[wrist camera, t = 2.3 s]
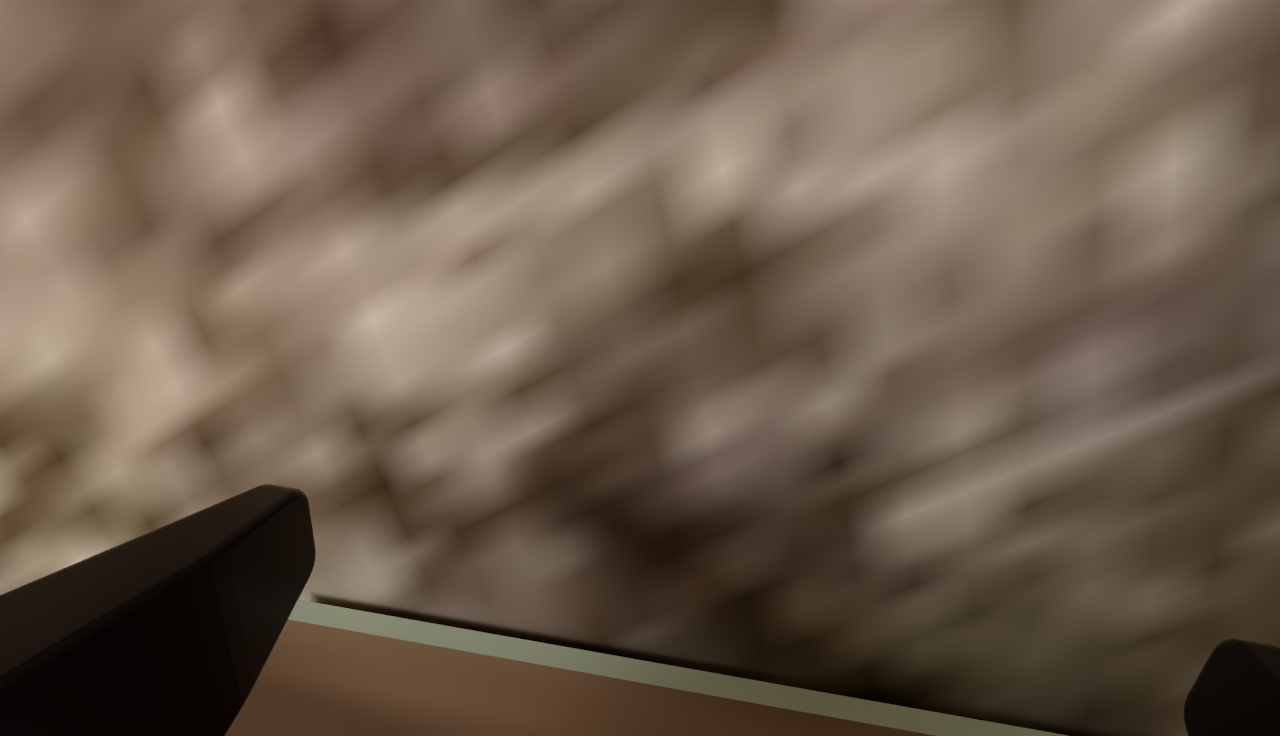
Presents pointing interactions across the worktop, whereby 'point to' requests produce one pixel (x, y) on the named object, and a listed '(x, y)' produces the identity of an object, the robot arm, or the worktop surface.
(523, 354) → the worktop surface
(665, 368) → the worktop surface
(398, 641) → the wooden handled dough scraper
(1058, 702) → the worktop surface
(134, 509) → the worktop surface
